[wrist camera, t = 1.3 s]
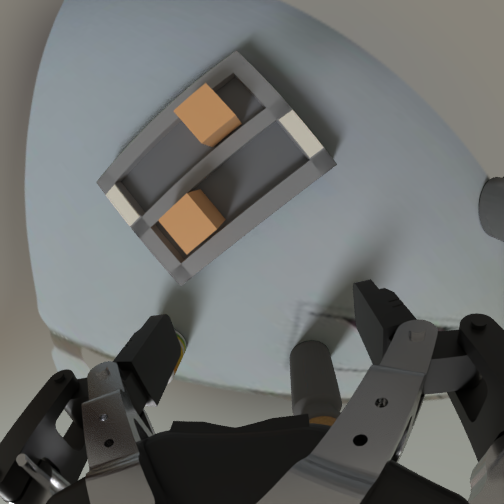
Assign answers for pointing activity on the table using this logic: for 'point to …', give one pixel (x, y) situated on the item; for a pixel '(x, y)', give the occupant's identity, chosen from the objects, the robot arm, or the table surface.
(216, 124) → the tan square block
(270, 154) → the tray
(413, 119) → the table surface
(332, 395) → the bottle
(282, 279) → the table surface
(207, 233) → the orange rectangular block
